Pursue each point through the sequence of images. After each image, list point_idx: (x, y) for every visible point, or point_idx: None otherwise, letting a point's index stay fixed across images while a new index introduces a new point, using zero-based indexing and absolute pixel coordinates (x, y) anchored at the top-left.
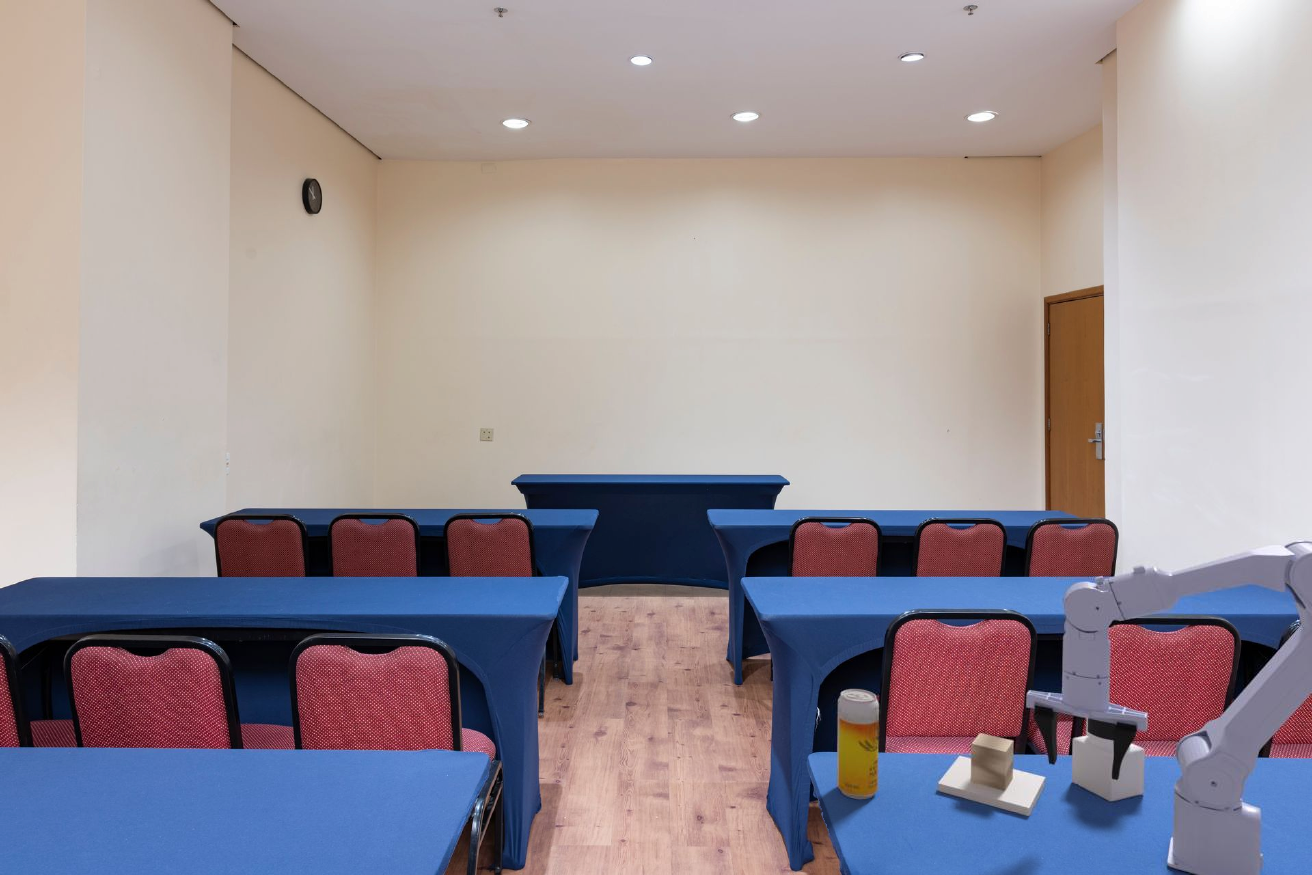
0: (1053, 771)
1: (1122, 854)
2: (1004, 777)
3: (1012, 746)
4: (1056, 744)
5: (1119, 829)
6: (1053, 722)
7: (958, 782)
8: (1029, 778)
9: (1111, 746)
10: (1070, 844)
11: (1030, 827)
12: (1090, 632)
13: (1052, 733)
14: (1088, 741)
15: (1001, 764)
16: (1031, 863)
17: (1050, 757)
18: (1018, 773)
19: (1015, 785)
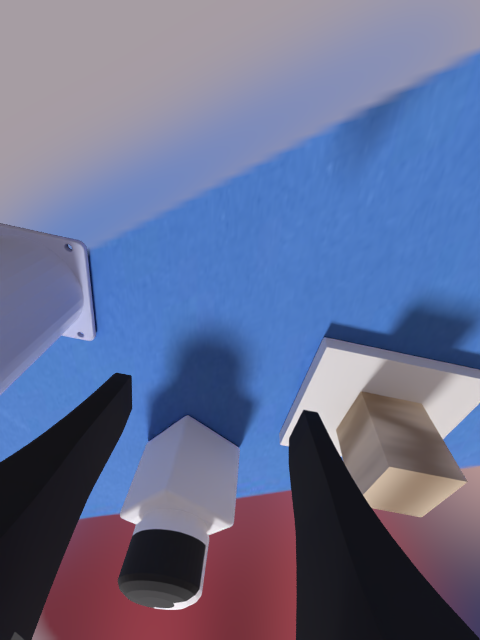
0: (262, 464)
1: (165, 259)
2: (370, 412)
3: None
4: (294, 489)
5: (173, 344)
6: (341, 619)
7: (449, 395)
8: None
9: (166, 514)
10: (258, 259)
11: (329, 297)
12: None
13: (339, 538)
14: (207, 521)
15: (385, 437)
16: (364, 120)
17: (320, 428)
18: None
19: (336, 411)
